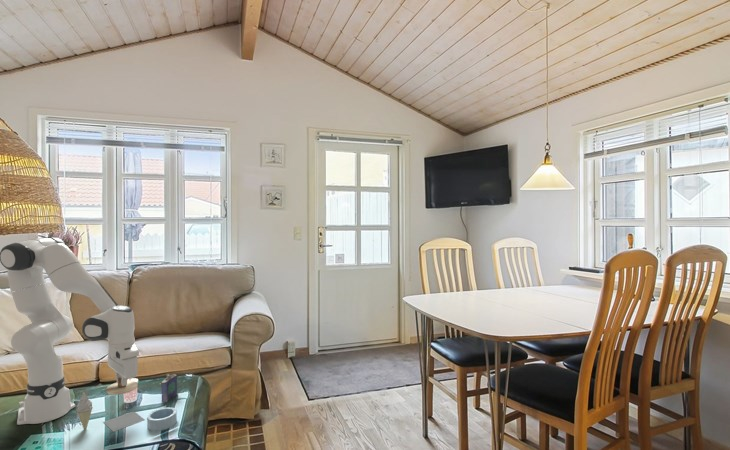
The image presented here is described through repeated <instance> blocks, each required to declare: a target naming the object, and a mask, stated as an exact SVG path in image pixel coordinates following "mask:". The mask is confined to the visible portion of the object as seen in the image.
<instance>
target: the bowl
mask: <svg viewBox="0 0 730 450" xmlns="http://www.w3.org/2000/svg"><path fill="white" fill-rule="evenodd" d="M177 411H178V410H177V409H176V408H174V407H161V408H158V409H154V410H152V411H151V412H150V413H148V414H147V418H146V422H147V423H146V424H147V425H146V426H147V429H148V430H149V431H153V432H160V431H165V430H167V429H170V428H172V427H173V426H175V425H176V424H177V420H178V416H177V415H178V414H177Z"/></svg>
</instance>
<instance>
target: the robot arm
mask: <svg viewBox="0 0 730 450" xmlns="http://www.w3.org/2000/svg"><path fill="white" fill-rule="evenodd" d="M0 263H1V264H0V265H2V266H3V267H4V268H5V269H7V281H8V287H9V289H10V292H11V296H12V299H13V302H14V305H15V307H16V310H17V311H18V312H19V313H20V314H23V315H25V316H26V317H27V318H28V319H29V320H30V322H31V323H29V324H27V325H25V326H23V327H21V328H19V329H18V330H17V331H16V332H15V333H14V334H13V335H12V336H11V340H10V345H11V348H12V350H14V351H15V352H16V353H18V354H20V355H21V356H22V358H23V359H24V362H25V363H26V368H27V384H26V395H25V397H24V400H23V401H19V402H18V404H19V405H18V407H19V408H18V412H17V420H16V425H19V426H21V425H27V424H28V425H29V424H31V425H35V424H42V423H48V422H51V421H53V420H56V419H59V418H61V417H63V416H64V415H66V414H67V413H69V412H70V411H71V410H73V409H74V408H75V407H76V404H75V403H74V402H71V401H72V400H71V393H70V391H71V390H70V389H69V388H68V387H66V379H65V376H64V365H63V364H64V363H63V361H64V360H63V358H62V356H60V355H58V354H57V353H56V351H55V348H54V345H55V344H56V343H58V342H60V341H62V340H64V339H65V338H67V336H69V335H70V334H71V332H72V331H73V330H74V329H73V328H74V322H73V320H72V318H70V317H69V316H67V315H66V314H64V313H62V312H61V311H60V310H59V308H58V307H57V306H56V304H55V302H54V300H53V299H52V296H51V293H50V290H49V288H48V284H47V283H46V279H45V277H44V274H43V271H45V273H46V275H47V277H48V278H49V280H50V282H51V283H52V285H54V287H55V288H57V290H59V291H61V292H65V293H70V294H71V293H72V294H78V295H83V296H86V297H87V298H89V299H90V300H91V301H92V303H94V305H95V306H96V307H97V308H98V309H99V311H100V312H101V313H98V314H95V315H92V316H90V317H88V318H86V319H85V321H84V322H83V323H82V327H81V330H82V334H83V336H84V338H85V339H87V340H88V341H91V342H96V341H97V342H98V341H103V340H107V365H108V368H110V369H112V370H113V371H114V374H115V377H116V383H117V382H118V378H121V377H122V380H121V385H122V386H125V385H127V380H128V379H130V378H131V379H132V378H137V375H138V367H139V366H138V365H139V363H138V361H139V359H138V356H140V350H139V349H138V347H137V345H136V343H135V342H136V339H135V335H134V333H135V329H136V326H135V325H136V323H135V320H136V319H135V313H134V311H133V309H132V308H131V307H130V306H126V305H119V304H118V303H117V302H116V301H115V300H114V298H113V297H112V296H111V294H110V293H109V292H108V290H107V289H106V288H105V287H104V286H103V284H102V283H101V282H100V281H99V280H98V279H97V278H95V277H94V276H92V275H91V274H90V273H89V272H88V271H87V270H86V268H85V267H84V266H83V264H82V263H81V262H80V260H79V258H78V257H77V256H76V254H75V253H74V252H73V251H72V249H71V248H69V247H68V246H67V245H66V243H65V241H63V239H61V238H59V237H54V236H53V237H51V236H49V237H48V236H47V237H42V238H41V237H39V238H33V239H29V240H25V241H19V242H12V243H10V244H7V245H4V246H3V247H2V249H0Z"/></svg>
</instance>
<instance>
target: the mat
mask: <svg viewBox="0 0 730 450" xmlns="http://www.w3.org/2000/svg"><path fill="white" fill-rule="evenodd" d="M143 421H145V419H144V418H143V417H142V416H141V415H139V414H138V413H137V412H136V411H134V410H133V411H131V412H127V413H124V414H122V415H119V416H116V417H114V418H111V419H108V420H105V421H103V424H104V425H105V426H106V427H108V428H109V429H110V430H111V431H112V432H113V433H114V432H115V433H116V432H117V431H120V430H122V429H125V428H127V427H130V426H133V425H135V424H138V423H141V422H143Z"/></svg>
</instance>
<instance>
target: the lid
mask: <svg viewBox="0 0 730 450" xmlns="http://www.w3.org/2000/svg"><path fill="white" fill-rule="evenodd" d="M121 380H122V377H121V378H118V382H117V381H116V382H114V383H112V384H110V385H108V386H106V388H105V393H106V394H108V395H113V396H114V395H115V396H118V395H124V393H128V392H131V391H133V390H135V389H136V388H137V389H138V384H137V382H136V381H127V385H125V386H122V385H121Z"/></svg>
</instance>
